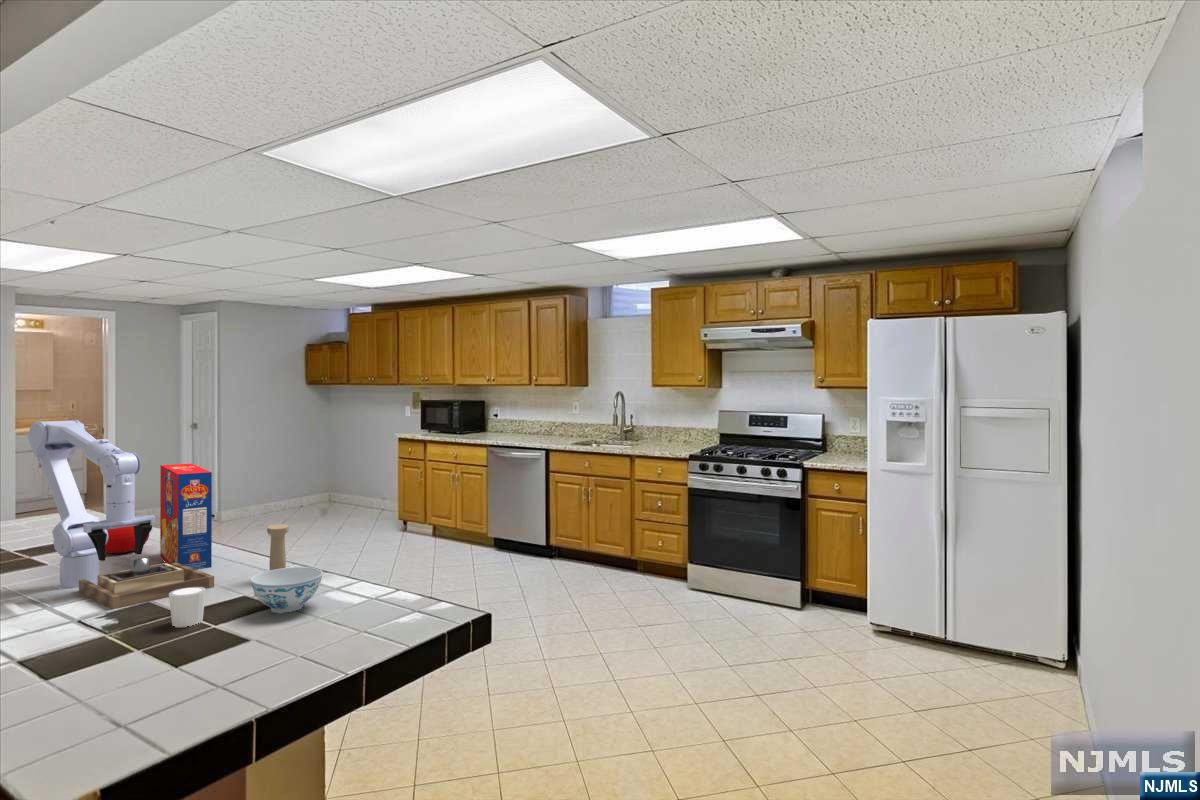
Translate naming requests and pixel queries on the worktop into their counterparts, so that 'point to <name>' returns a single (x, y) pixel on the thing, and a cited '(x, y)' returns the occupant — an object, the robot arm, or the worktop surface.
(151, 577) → the crate
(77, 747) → the worktop surface
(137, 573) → the peg
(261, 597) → the chinaware
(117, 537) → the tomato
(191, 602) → the white cylinder
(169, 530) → the pasta box
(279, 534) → the handle
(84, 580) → the bay
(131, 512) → the robot arm
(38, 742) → the worktop surface
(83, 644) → the worktop surface
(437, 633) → the worktop surface
